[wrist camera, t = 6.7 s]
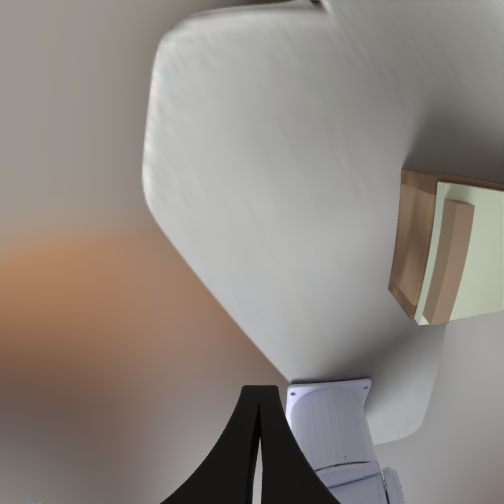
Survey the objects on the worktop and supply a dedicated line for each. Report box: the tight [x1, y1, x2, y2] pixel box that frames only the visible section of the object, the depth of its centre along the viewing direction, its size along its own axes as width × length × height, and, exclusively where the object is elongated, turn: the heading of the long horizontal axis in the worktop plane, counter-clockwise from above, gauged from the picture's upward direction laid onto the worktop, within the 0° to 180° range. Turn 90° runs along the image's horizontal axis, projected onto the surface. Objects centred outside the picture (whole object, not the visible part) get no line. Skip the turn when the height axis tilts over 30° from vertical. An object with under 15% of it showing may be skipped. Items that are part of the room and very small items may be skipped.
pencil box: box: [388, 169, 504, 319], centre depth 15 cm, size 9×17×5 cm, turn 92°
